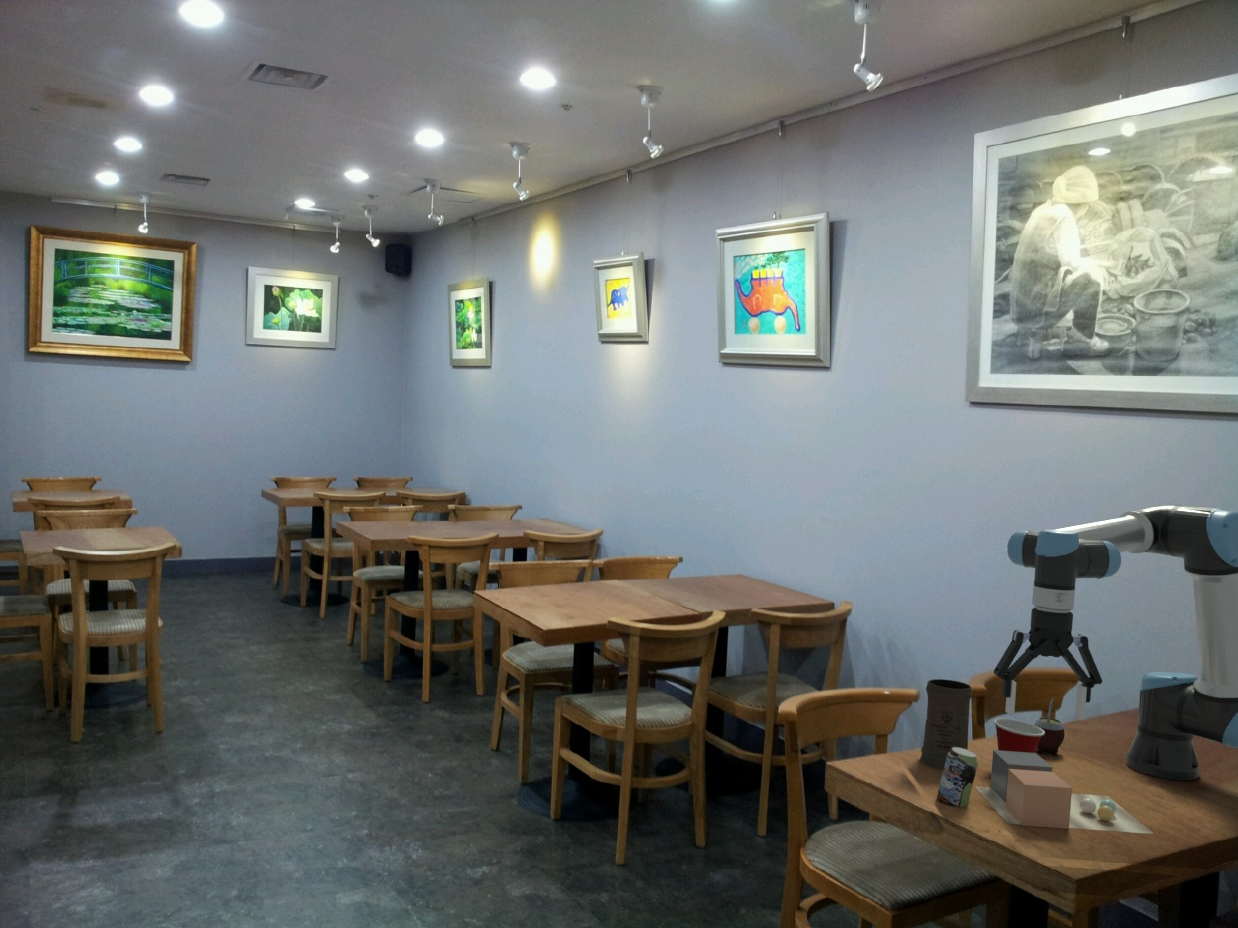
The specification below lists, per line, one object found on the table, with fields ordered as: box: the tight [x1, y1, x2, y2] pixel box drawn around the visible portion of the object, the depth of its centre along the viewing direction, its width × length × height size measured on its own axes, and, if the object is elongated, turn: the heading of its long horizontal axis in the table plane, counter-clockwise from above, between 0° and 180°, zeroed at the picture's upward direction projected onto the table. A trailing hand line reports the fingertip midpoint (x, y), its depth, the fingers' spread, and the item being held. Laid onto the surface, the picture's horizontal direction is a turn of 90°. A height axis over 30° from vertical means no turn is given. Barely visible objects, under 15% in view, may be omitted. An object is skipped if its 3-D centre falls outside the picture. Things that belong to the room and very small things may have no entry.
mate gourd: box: [1034, 697, 1066, 758], centre depth 244 cm, size 8×8×15 cm
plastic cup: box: [993, 717, 1045, 754], centre depth 225 cm, size 11×11×12 cm
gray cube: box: [989, 749, 1053, 803], centre depth 209 cm, size 9×9×8 cm
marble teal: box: [1100, 799, 1116, 813], centre depth 201 cm, size 3×3×3 cm
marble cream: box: [1080, 798, 1096, 814], centre depth 201 cm, size 3×3×3 cm
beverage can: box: [936, 747, 979, 808], centre depth 203 cm, size 6×7×12 cm
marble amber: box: [1098, 805, 1114, 821], centre depth 198 cm, size 3×3×3 cm
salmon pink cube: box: [1006, 769, 1073, 830], centre depth 197 cm, size 9×9×8 cm
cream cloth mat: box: [974, 786, 1155, 835], centre depth 203 cm, size 28×20×1 cm
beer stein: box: [919, 678, 973, 771], centre depth 230 cm, size 15×11×20 cm
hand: (1044, 715), depth 197 cm, fingers open, 13 cm apart
